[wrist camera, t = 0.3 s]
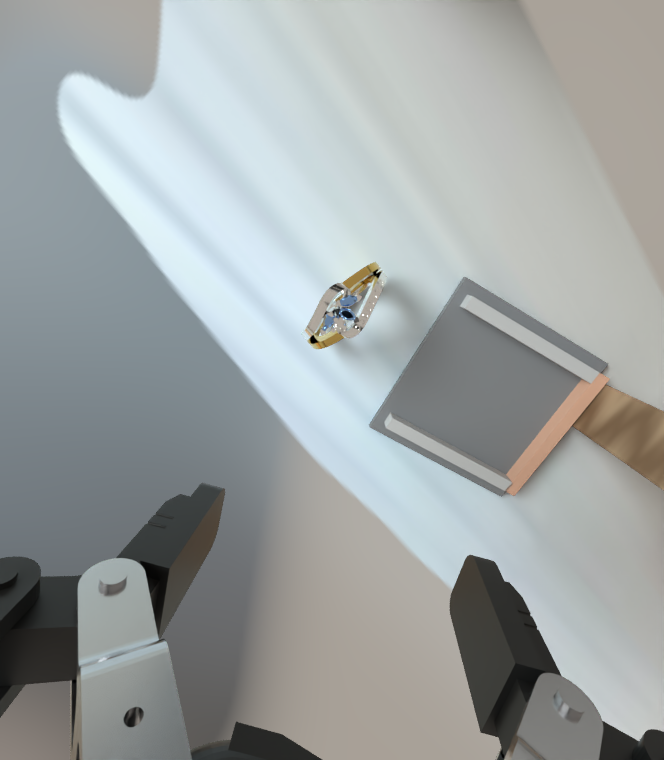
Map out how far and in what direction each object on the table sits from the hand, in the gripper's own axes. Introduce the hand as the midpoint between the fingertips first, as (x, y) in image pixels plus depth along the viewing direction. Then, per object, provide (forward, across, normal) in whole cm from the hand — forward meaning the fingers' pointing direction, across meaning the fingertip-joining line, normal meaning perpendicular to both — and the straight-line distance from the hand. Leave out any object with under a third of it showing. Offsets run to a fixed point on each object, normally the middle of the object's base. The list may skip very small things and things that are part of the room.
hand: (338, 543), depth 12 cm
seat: (+21, -11, -2) cm, 24 cm away
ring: (+20, +3, -6) cm, 21 cm away
